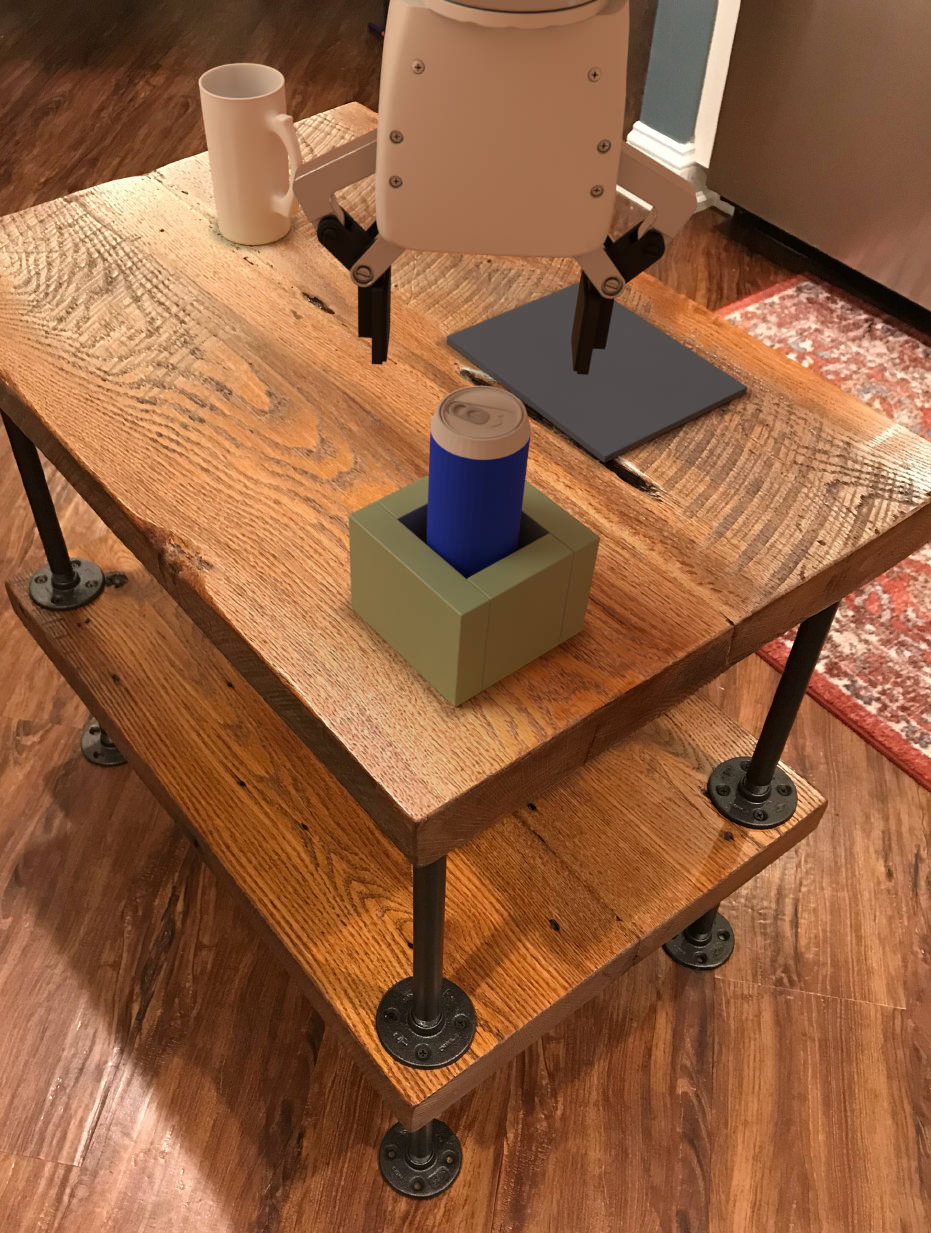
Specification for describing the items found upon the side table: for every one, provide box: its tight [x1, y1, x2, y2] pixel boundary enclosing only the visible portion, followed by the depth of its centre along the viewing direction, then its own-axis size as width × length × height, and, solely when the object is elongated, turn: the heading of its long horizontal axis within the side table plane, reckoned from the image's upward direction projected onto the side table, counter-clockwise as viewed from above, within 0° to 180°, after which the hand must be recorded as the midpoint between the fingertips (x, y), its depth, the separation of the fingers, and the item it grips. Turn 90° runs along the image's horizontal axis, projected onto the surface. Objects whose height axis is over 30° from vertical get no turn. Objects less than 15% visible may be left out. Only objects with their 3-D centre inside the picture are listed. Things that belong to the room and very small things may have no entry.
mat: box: [446, 281, 748, 464], centre depth 86 cm, size 18×14×1 cm
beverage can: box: [426, 385, 532, 579], centre depth 64 cm, size 5×5×15 cm
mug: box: [198, 62, 304, 246], centre depth 94 cm, size 10×7×12 cm, turn 44°
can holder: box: [348, 474, 601, 708], centre depth 67 cm, size 10×10×8 cm
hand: (479, 353), depth 56 cm, fingers open, 9 cm apart
